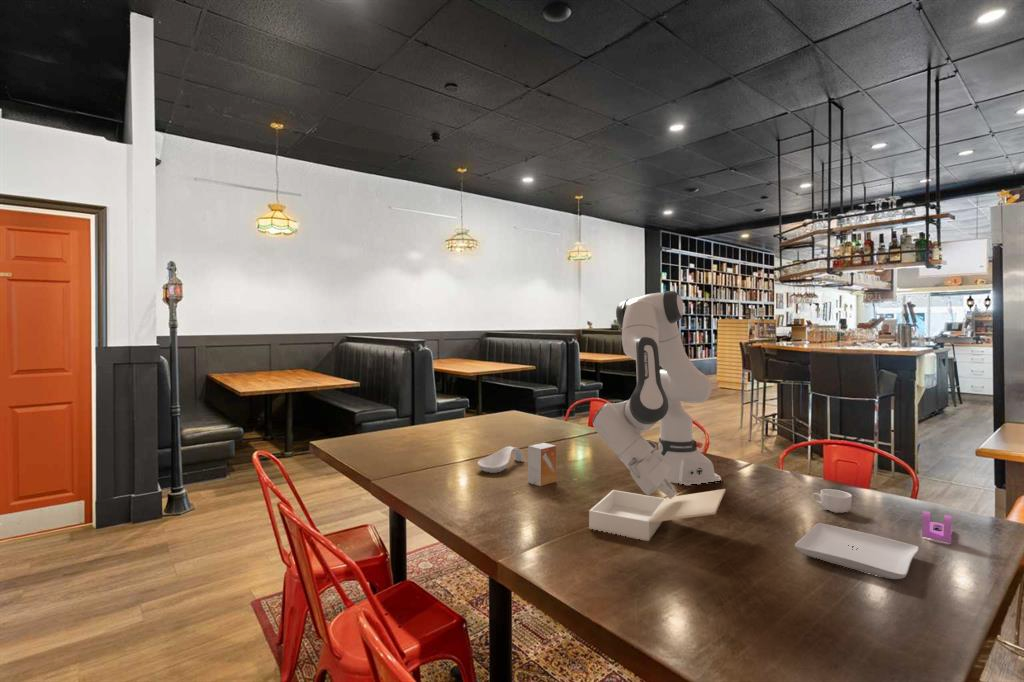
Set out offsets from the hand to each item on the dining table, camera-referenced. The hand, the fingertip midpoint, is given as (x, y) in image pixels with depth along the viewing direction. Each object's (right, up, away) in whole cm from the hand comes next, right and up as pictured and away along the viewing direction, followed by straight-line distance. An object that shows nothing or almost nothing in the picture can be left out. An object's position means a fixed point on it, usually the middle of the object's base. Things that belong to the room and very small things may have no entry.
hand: (673, 496), depth 133 cm
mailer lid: (+3, -1, -2) cm, 4 cm away
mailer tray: (-10, -9, +6) cm, 15 cm away
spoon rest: (-47, -8, +61) cm, 78 cm away
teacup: (+52, -9, +15) cm, 55 cm away
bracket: (+69, -10, -2) cm, 69 cm away
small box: (-33, -9, +42) cm, 54 cm away
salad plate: (+38, -10, -15) cm, 42 cm away
